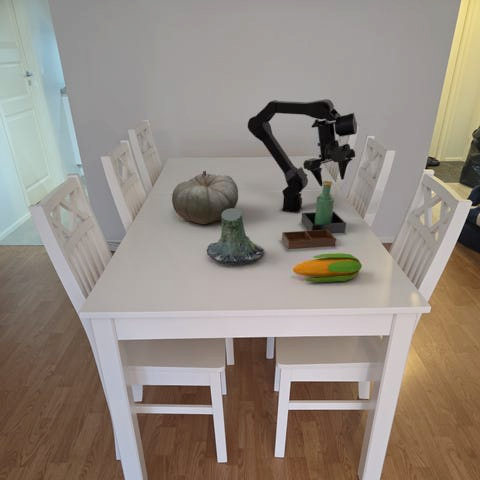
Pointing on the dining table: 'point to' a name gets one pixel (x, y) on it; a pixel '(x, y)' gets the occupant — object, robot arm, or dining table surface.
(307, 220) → the tray
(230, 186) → the gourd
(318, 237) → the wooden box
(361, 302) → the dining table surface
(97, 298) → the dining table surface
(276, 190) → the dining table surface
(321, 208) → the green corked bottle
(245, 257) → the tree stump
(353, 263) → the corn
